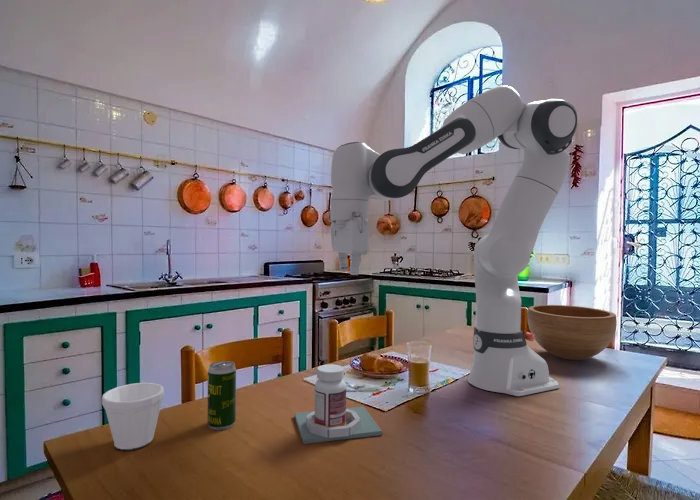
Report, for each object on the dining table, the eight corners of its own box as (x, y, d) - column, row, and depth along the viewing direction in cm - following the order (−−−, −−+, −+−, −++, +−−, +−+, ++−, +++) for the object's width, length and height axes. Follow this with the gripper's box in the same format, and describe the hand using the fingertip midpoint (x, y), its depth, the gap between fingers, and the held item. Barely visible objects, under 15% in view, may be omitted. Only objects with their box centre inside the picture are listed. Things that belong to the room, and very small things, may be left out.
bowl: (515, 347, 149) (516, 304, 148) (588, 348, 148) (590, 305, 147) (545, 369, 124) (546, 317, 123) (633, 371, 123) (635, 319, 122)
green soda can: (220, 417, 88) (220, 359, 88) (241, 422, 86) (241, 363, 86) (201, 427, 83) (201, 366, 83) (223, 433, 81) (223, 370, 81)
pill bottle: (349, 421, 85) (349, 364, 85) (341, 434, 79) (342, 374, 79) (319, 417, 87) (320, 362, 86) (309, 430, 81) (310, 371, 80)
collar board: (363, 410, 93) (363, 399, 93) (382, 436, 81) (383, 424, 81) (294, 416, 89) (294, 405, 89) (303, 445, 77) (303, 432, 77)
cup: (94, 460, 71) (94, 405, 70) (110, 433, 80) (109, 384, 80) (160, 452, 73) (160, 399, 73) (167, 427, 83) (167, 380, 83)
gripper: (376, 211, 90) (375, 277, 90) (351, 215, 110) (350, 269, 110) (347, 210, 88) (346, 277, 89) (327, 215, 108) (326, 269, 109)
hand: (348, 273), depth 100 cm, fingers open, 8 cm apart
